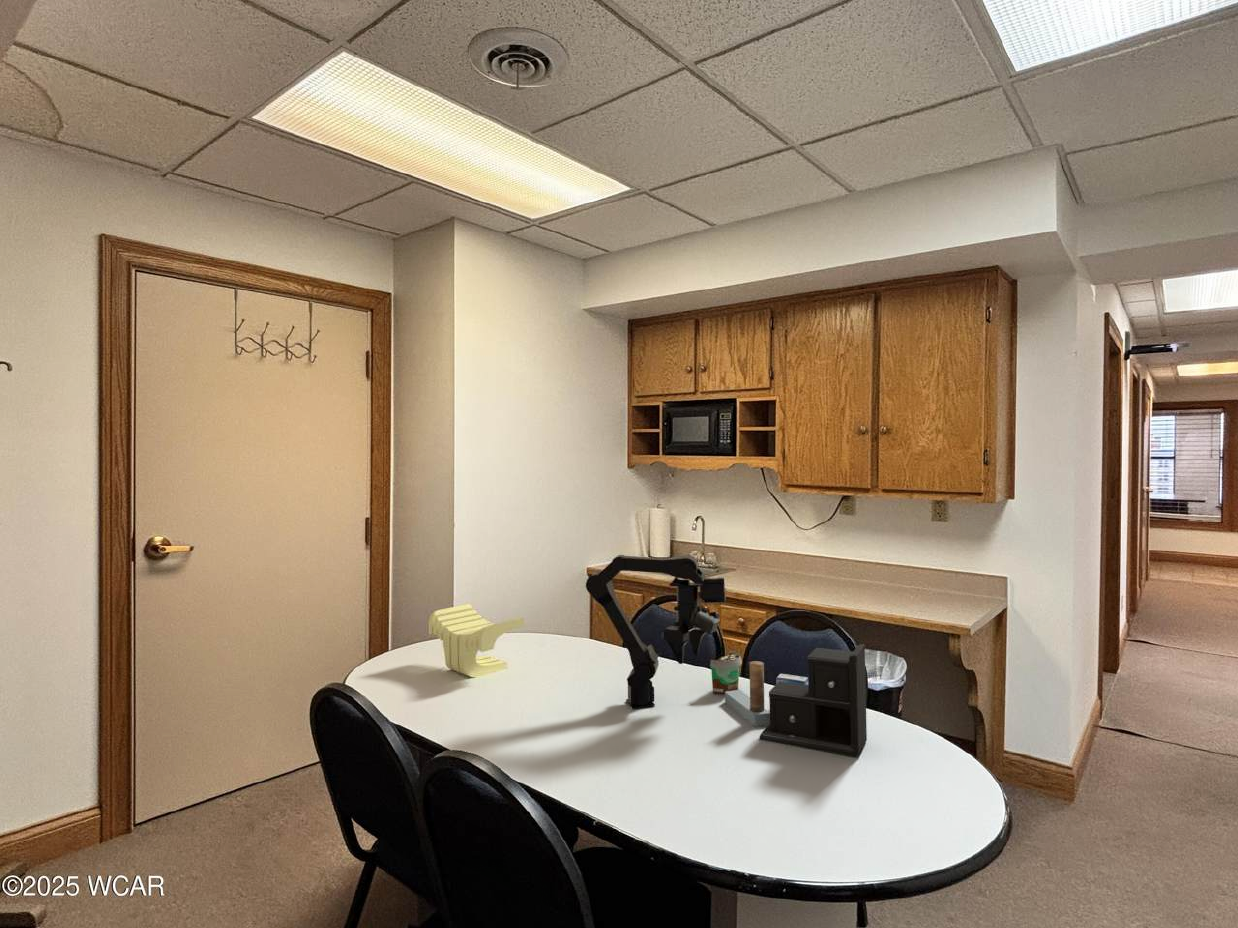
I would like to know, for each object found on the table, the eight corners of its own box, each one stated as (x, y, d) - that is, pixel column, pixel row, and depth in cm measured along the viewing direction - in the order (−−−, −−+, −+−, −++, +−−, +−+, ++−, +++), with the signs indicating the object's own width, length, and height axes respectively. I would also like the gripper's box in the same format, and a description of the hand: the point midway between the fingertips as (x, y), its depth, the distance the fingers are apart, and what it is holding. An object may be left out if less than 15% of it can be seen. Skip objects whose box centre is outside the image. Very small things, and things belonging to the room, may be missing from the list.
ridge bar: (754, 726, 179) (754, 714, 179) (725, 702, 196) (724, 691, 196) (770, 724, 180) (770, 712, 180) (740, 700, 198) (739, 689, 198)
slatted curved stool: (429, 665, 234) (428, 611, 233) (470, 655, 245) (469, 603, 245) (482, 686, 213) (481, 627, 212) (524, 673, 224) (523, 617, 224)
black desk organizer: (758, 740, 171) (757, 643, 171) (771, 724, 181) (770, 632, 180) (859, 759, 160) (858, 655, 159) (867, 741, 169) (866, 643, 169)
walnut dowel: (754, 712, 180) (753, 665, 180) (747, 707, 184) (747, 661, 184) (766, 711, 181) (766, 664, 181) (760, 706, 185) (759, 660, 185)
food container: (729, 699, 199) (729, 663, 199) (710, 694, 202) (709, 660, 202) (749, 687, 209) (749, 653, 208) (731, 683, 212) (730, 649, 212)
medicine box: (776, 709, 191) (775, 677, 191) (780, 703, 195) (780, 672, 195) (805, 714, 187) (805, 681, 187) (809, 708, 191) (809, 676, 191)
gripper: (699, 612, 181) (700, 673, 181) (728, 598, 196) (729, 654, 197) (661, 607, 187) (661, 666, 187) (692, 594, 202) (693, 649, 203)
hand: (688, 659), depth 193 cm, fingers open, 9 cm apart
